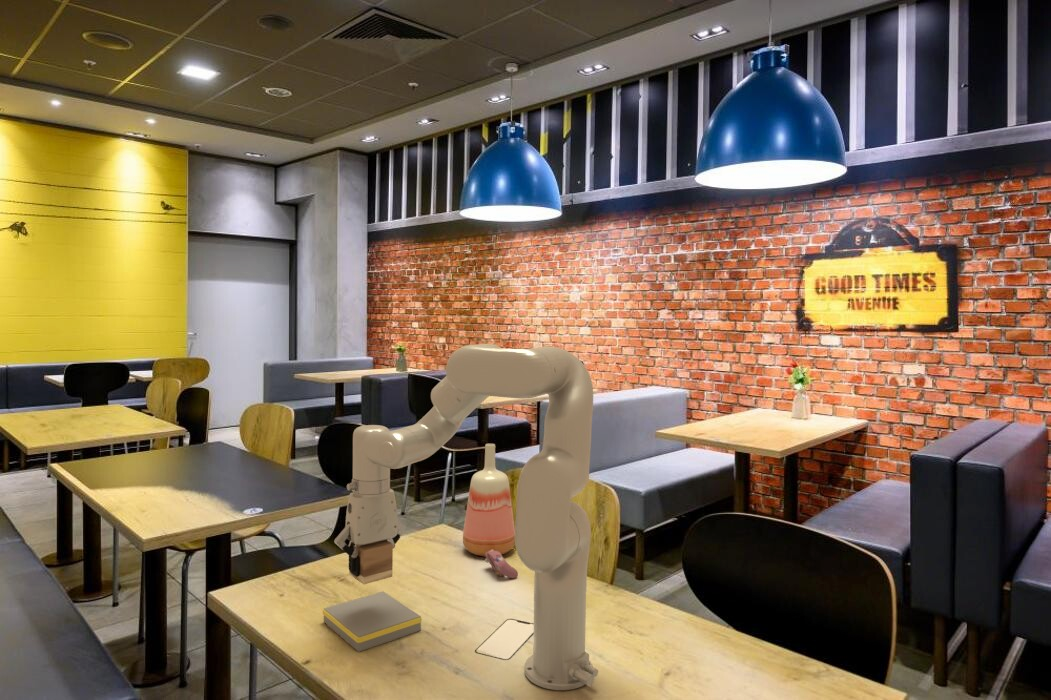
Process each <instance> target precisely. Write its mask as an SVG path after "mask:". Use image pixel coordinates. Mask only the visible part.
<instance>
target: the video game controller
mask: <svg viewBox="0 0 1051 700" xmlns="http://www.w3.org/2000/svg"><path fill="white" fill-rule="evenodd" d="M484 557H485V558H484V561H485V562H486V563H487V564H489V565H490V566H491V567H492V569H493V571H494V572H495V573H496V574H497V575H498V576H499V577H503V576H506V578H509V579H517V578H518V577H519V572H518V571H517V569H515V568H514V567H513V566H511V565H510V564H509V563H508V562H507V560H506V559H505V558H504V557H503V554H501V553H500V552H498V551H493V549H492V550H491V551H488V552H487V553H485V556H484Z"/></svg>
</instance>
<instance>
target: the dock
mask: <svg viewBox="0 0 1051 700" xmlns="http://www.w3.org/2000/svg"><path fill="white" fill-rule="evenodd" d="M322 615H323V623H324V622H325V623H326V624H327V625H326V624H325V623H324V624H325V625H326V626H328V627H329V629H331V630H332V629H333V630H334V633H336V635H338V636H339V635H340V636H339V637H340V638H341V639H342V640H344V641H345V642H346V643H347V644H348V645H350V646H351V647H352V648H354V649H355V650H356V651H357V652H362V651H366V650H367V649H370V648H374V647H376V646H379V645H382V644H386V643H388V642H391V641H394V640H397V639H400V638H403V637H406V636H408V635H412V634H415V633H418V632H420V631H421V630H422V616H421V615H420V614H418V613H416V612H415V611H414V610H412V609H410V608H409V607H408V606H406V605H404V604H403V603H401V602H400V601H399V600H397V599H396V598H394V597H393V596H391V595H390V594H388V593H387V592H386V591H384V590H383V591H382V590H381V591H380V592H376V593H372V594H368V595H366V596H362V597H359V598H358V597H357V598H355V599H352V600H348V601H344V602H342V603H341V602H340V603H337V604H335V605H331V606H328V607H324V608H323V609H322ZM333 630H332V631H333Z"/></svg>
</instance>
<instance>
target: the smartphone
mask: <svg viewBox="0 0 1051 700" xmlns="http://www.w3.org/2000/svg"><path fill="white" fill-rule="evenodd" d="M533 636H534V622H529V621H523V620H519V619H514V618H507V619H506V620H505V621H503V622H502V624H500V625H499V626H498V628H496V629H495V630H494V631H493V632H492V633H491V634H490V635H489V636H488V637H487V638H486V639H485V640H484V641H483V642H482V643H481V644H480V645H478V647H477V648H476V649H475V650H474V653H475V654H479V655H483V656H486V657H490V658H495V659H497V660H501V661H509V660H511V659H512V658H513V657H514V656H515V655H516V653H518V651H519V650H521V648H522V647H523V646H524V645H526V643H527V642H528V641H529V639H531V638H532V637H533ZM477 650H479V651H480V652H478V651H477ZM481 652H483V653H481ZM485 653H486V654H485Z"/></svg>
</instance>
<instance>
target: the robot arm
mask: <svg viewBox="0 0 1051 700" xmlns="http://www.w3.org/2000/svg"><path fill="white" fill-rule="evenodd" d="M593 386H594V385H593V382H592V378H591V375H590V373H589V370H588V369H587V367H586V366H585V365H584V363H583V362H582V361H581V360H580V359H579V358H578V357H577V356H576V355H574V354H573V353H571V352H570V351H568V350H566V349H564V348H560V347H557V346H539V347H533V348H531V347H530V348H524V349H523V348H521V349H520V348H502V347H500V346H499V345H496V344H493V343H492V344H491V343H478V344H476V343H475V344H467V345H464V346H462V347H459V348H458V349H456V350H455V351H453V353H451V355H450V356H449V358H448V361H447V362H446V365H445V377H443V378H442V379H441V380H440V381H439V382H438V383H437V384H436V385H435V386H434V387H433V388H432V389H431V392H430V400H431V403H432V405H433V406H432V408H431V409H430V410H429V411H428V412H427V413H426V414H425V415H424V416H422V418H421V419H419V420H418V421H417V422H416V423H415V424H412V425H409V426H404V427H400V428H398V429H394V430H390V429H389V428H388V427H386V426H384V425H378V424H368V425H361V426H358V427H356V428H355V429H354V431H353V433H352V479H351V482H349V483H347V485H346V489H347V491H352V492H350V493H349V497H348V500H347V507H346V512H345V513H346V515H345V526H344V528H343V529H342V530H341V531H340V533H339V534H338V535H337V536H336V537H335V538H334V540H333V542H334V544H335V545H337V546H338V547H339V548H340V549H341V550H342V551H343V552H344V553H345V554H346V555H348V570H349V571H350V572H351V573H352V574H353V575H355V576H356V577H358V576H359V575H360V557H358V553H359V550H360V548H361V545H366V544H371V543H375V542H379V541H384V540H386V541H387V542H388V541H389V542H390V543H392V544H393V549H395V548H396V544H397V542H398V541H399V540H400V539H401V536H402V535H403V534H404V532H405V530H406V528H407V527H406V525H404V524H403V523H402V522H401V521H400V520H399V519H398V507H397V502H396V496H395V492H394V489H391V470H392V469H393V470H396V469H402V468H404V467H407V466H410V465H412V464H414V463H418V462H422V461H424V460H426V459H428V458H430V457H431V456H432V455H434V454H435V453H437V451H439V450H440V449H441V448H442V447H443V446H445V444H446V443H447V442H449V441H450V440H451V439H452V438H453V436H455V434H456V433H457V432H458V430H459V429H460V428H461V426H462V424H463V421H464V420H465V419H467V417H468V416H470V415H471V413H472V412H474V410H476V408H478V407H479V406H480V405H481V404H483V403H484V401H485V400H486V399H488V398H489V397H495V398H496V397H498V398H510V399H519V400H520V399H534V398H537V397H540V396H544V395H547V396H548V406H547V409H546V412H545V417H544V423H543V424H544V425H543V426H544V427H543V430H544V431H543V432H544V433H543V440H542V441H543V442H542V448H541V451H540V452H538V453H537V454H534V455H533V456H532V457H531V458H529V459H528V460H527V461H526V463H525V464H524V466H523V467H522V469H521V472H520V474H519V479H518V483H517V492H516V493H517V494H516V508H515V522H514V528H515V544H514V546H515V549H516V553H517V555H518V558H519V560H520V561H521V562H522V564H523V565H524V566H525V567H526V568H527V569H529V570H530V571H532V572H534V576H533V577H534V585H533V586H534V587H533V623H534V635H533V636H532V637H533V639H532V640H533V641H532V643H533V644H532V645H533V647H532V648H533V650H532V651H533V652H532V654H531V656H530V657H529V656H528V658H527V659H526V660H525V663H524V675H525V676H526V677H527V680H529V681H530V682H531V683H532V684H534V685H536V686H538V687H541V688H543V689H547V690H551V691H568V690H569V691H571V690H574V689H579V688H582V687H583V686H587V687H591V686H593V685H594V682H595V678H596V677H597V676H598V674H599V670H598V669H597V668H596V667H594V666H593V663H592V662H591V661H590V653H588V652H586V621H587V620H586V617H587V616H586V614H587V612H586V610H587V585H588V584H587V582H588V581H587V580H588V579H587V577H588V562H589V554H590V547H591V546H590V545H591V538H592V529H591V528H592V527H591V523H590V518H589V516H588V514H587V511H586V510H584V508H583V507H582V506H580V504H578V503H576V502H575V501H572V499H573V498H574V497H576V496H577V495H578V494H580V493H581V492H582V491H583V490H584V489H585V488H586V486H587V484H588V482H589V478H590V463H591V448H592V447H591V446H592V424H593V411H594V409H593V408H594V387H593ZM346 540H347V541H349V542H350V543H348V544H347V543H346Z"/></svg>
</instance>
